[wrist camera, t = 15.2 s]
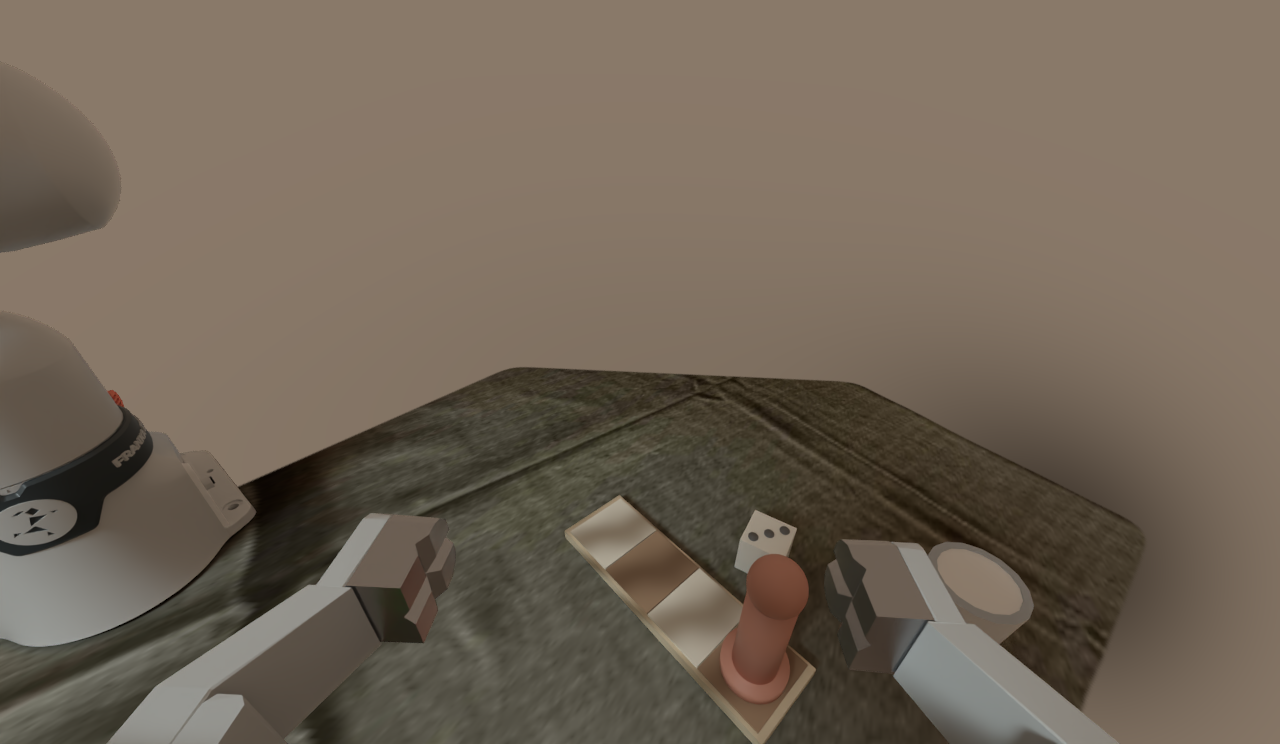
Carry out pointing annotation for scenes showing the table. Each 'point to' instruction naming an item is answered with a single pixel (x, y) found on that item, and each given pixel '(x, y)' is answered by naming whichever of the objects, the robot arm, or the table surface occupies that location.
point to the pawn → (764, 630)
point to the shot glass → (983, 588)
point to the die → (763, 540)
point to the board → (679, 607)
